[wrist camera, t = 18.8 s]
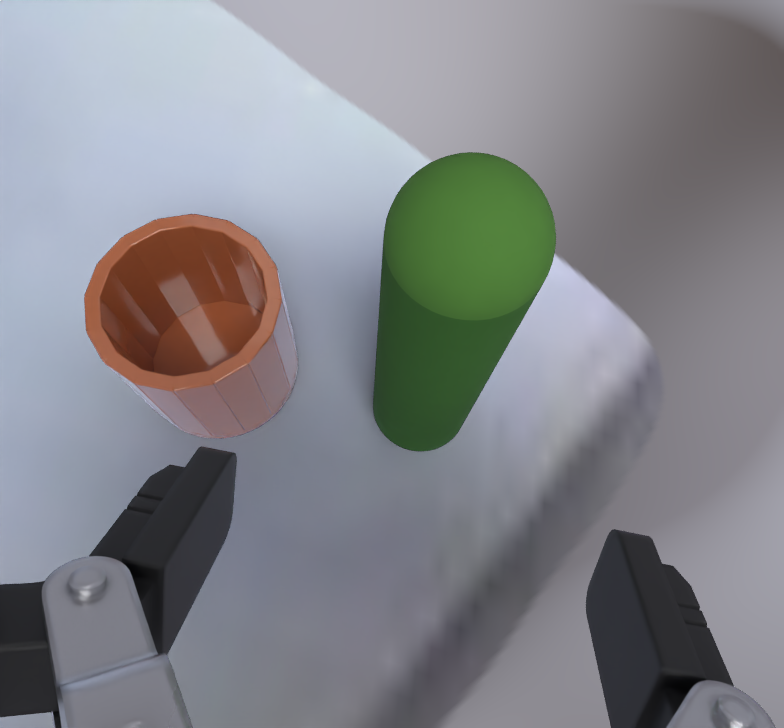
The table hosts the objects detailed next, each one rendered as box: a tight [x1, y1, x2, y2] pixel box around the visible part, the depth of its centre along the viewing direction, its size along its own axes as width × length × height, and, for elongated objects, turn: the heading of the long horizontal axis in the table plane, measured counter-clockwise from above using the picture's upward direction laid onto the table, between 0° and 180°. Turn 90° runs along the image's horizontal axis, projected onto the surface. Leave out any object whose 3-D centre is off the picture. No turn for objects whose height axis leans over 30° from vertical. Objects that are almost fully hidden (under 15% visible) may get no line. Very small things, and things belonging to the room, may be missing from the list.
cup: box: [84, 214, 298, 438], centre depth 24 cm, size 6×6×6 cm
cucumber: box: [373, 152, 556, 451], centre depth 20 cm, size 4×4×15 cm
